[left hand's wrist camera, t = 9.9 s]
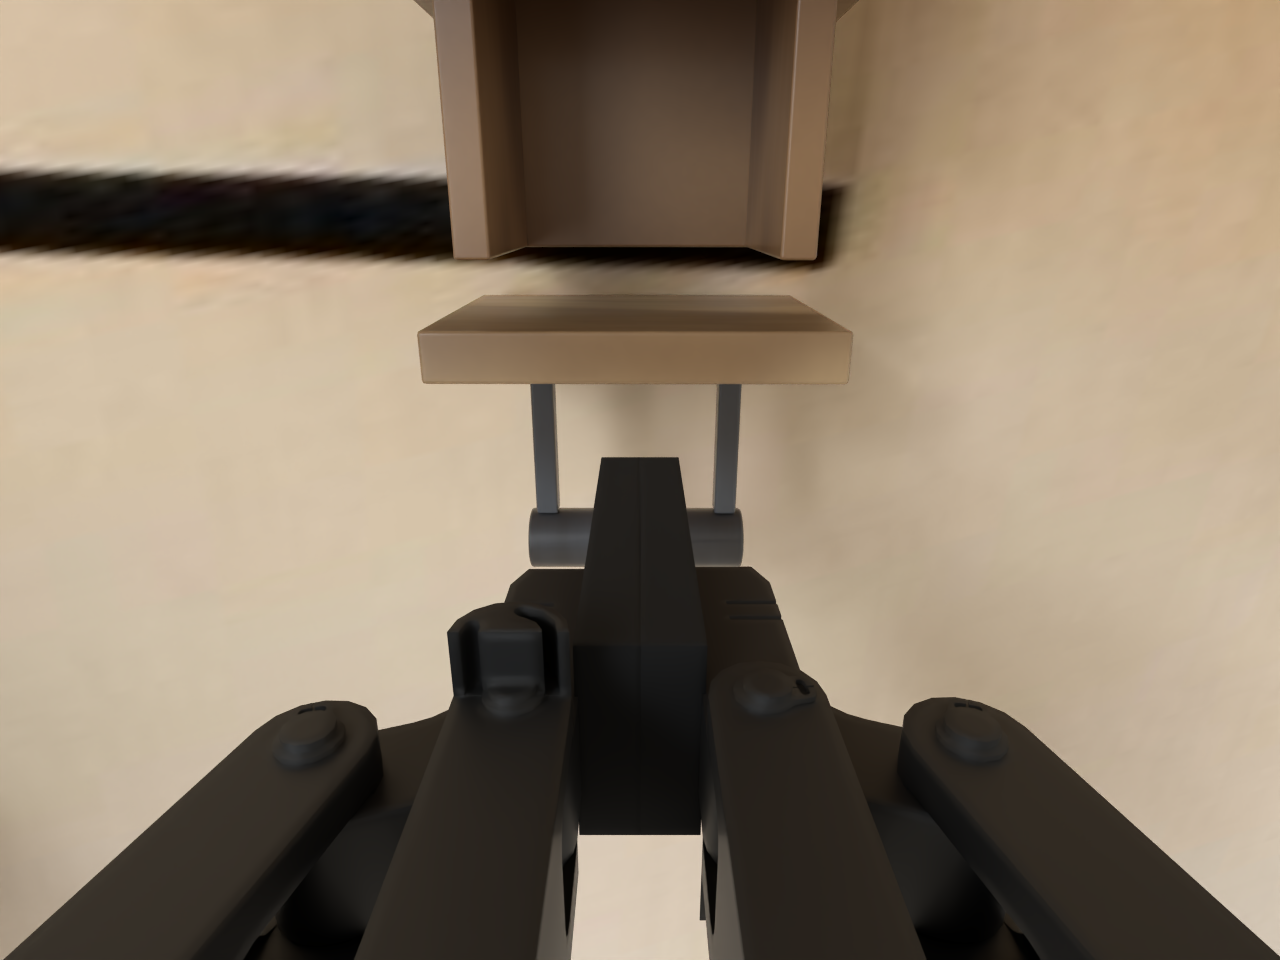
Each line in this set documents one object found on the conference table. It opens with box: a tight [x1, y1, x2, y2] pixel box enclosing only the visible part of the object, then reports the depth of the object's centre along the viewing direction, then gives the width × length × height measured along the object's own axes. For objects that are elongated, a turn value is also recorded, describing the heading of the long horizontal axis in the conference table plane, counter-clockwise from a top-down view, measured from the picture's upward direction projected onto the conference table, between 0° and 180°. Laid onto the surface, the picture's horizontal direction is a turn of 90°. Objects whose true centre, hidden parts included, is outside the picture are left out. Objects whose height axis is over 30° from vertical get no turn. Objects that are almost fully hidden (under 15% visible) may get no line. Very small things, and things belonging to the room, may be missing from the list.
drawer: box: [417, 0, 853, 567], centre depth 18 cm, size 21×10×7 cm, turn 0°
